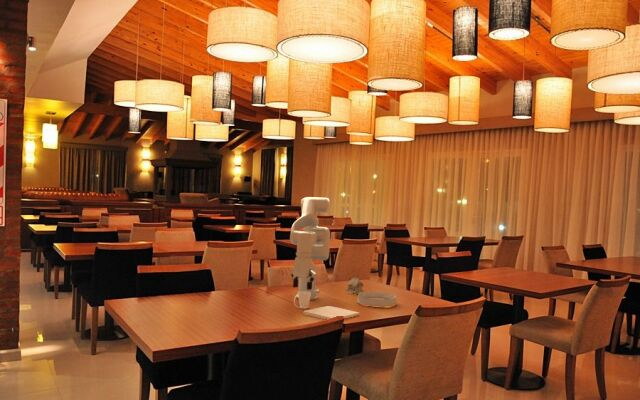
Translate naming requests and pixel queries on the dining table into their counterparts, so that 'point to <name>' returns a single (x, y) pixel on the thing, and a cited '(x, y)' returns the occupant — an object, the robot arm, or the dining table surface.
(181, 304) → the dining table surface
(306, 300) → the cup
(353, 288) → the ceramic model
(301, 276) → the robot arm
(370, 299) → the dish
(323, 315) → the board
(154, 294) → the dining table surface
